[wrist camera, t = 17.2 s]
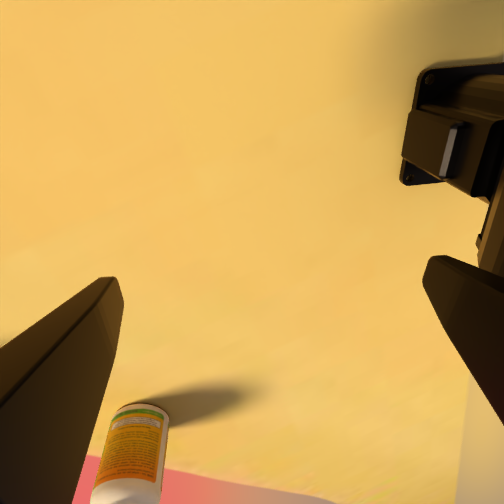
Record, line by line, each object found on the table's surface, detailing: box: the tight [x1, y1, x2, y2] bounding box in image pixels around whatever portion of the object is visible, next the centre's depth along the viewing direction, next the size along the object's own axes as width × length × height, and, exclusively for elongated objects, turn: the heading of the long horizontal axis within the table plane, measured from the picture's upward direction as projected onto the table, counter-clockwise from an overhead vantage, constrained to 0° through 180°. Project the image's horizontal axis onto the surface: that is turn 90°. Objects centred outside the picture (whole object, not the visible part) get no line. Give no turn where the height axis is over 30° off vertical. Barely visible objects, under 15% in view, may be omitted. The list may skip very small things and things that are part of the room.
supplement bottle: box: [90, 404, 169, 504], centre depth 28 cm, size 5×5×10 cm
